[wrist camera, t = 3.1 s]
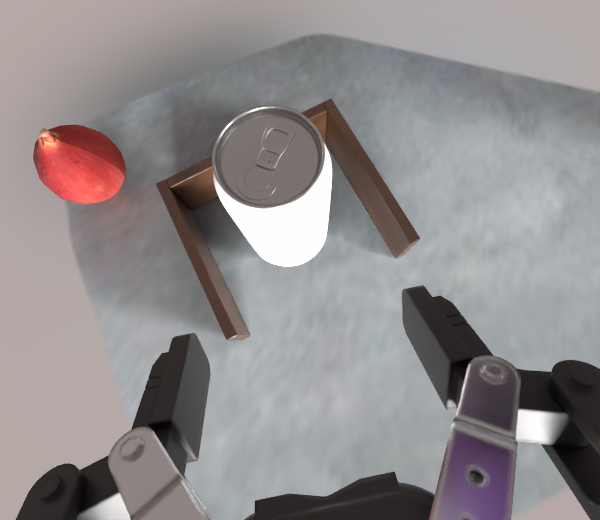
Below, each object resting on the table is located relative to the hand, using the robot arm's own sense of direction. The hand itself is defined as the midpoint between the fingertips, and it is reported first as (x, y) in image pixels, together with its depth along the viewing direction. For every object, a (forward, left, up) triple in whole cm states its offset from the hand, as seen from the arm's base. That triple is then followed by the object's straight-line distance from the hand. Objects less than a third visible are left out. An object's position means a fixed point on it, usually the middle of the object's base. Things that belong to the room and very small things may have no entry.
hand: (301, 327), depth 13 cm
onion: (+10, -19, -14) cm, 26 cm away
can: (-2, -8, -14) cm, 16 cm away
